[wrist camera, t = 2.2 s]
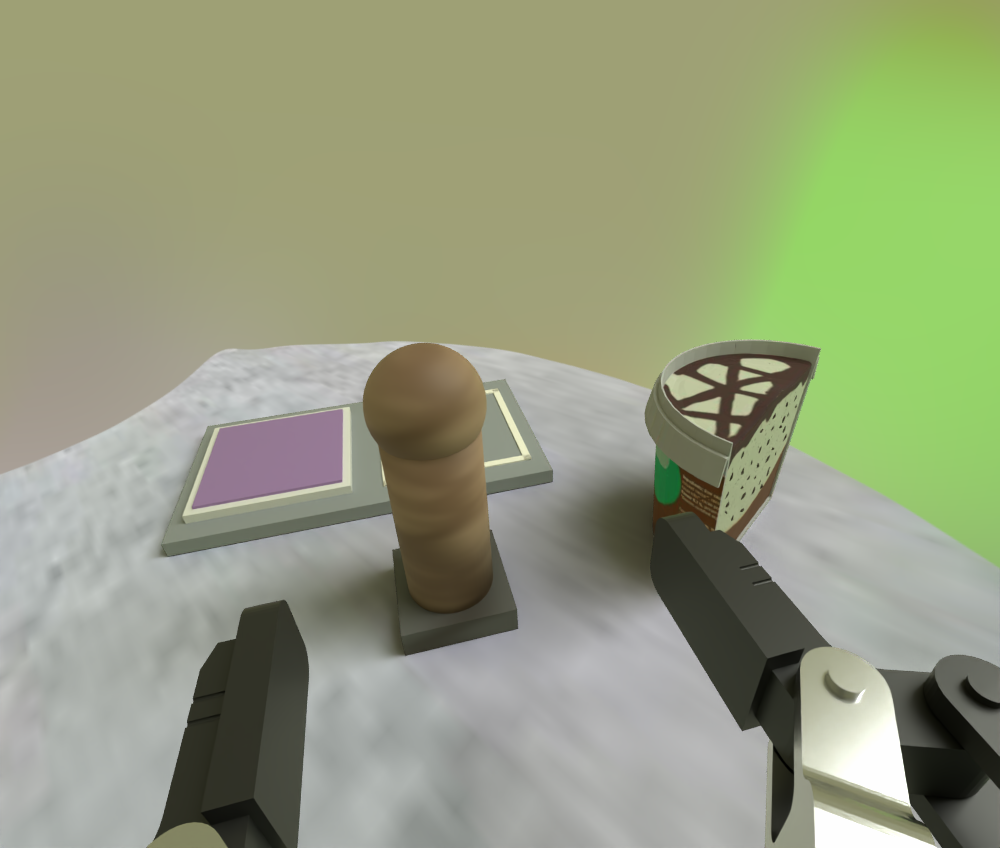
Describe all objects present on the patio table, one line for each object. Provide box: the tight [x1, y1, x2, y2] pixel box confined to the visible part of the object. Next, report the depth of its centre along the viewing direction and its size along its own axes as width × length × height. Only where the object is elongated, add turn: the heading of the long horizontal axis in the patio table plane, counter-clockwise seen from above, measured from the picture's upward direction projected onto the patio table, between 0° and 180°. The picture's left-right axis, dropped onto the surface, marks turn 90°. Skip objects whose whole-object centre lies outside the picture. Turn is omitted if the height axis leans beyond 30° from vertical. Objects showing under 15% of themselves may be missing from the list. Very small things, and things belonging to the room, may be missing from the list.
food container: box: [645, 340, 821, 541], centre depth 30 cm, size 12×6×10 cm, turn 137°
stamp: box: [363, 343, 518, 655], centre depth 25 cm, size 6×6×14 cm
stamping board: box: [161, 379, 553, 556], centre depth 39 cm, size 24×13×2 cm, turn 104°
